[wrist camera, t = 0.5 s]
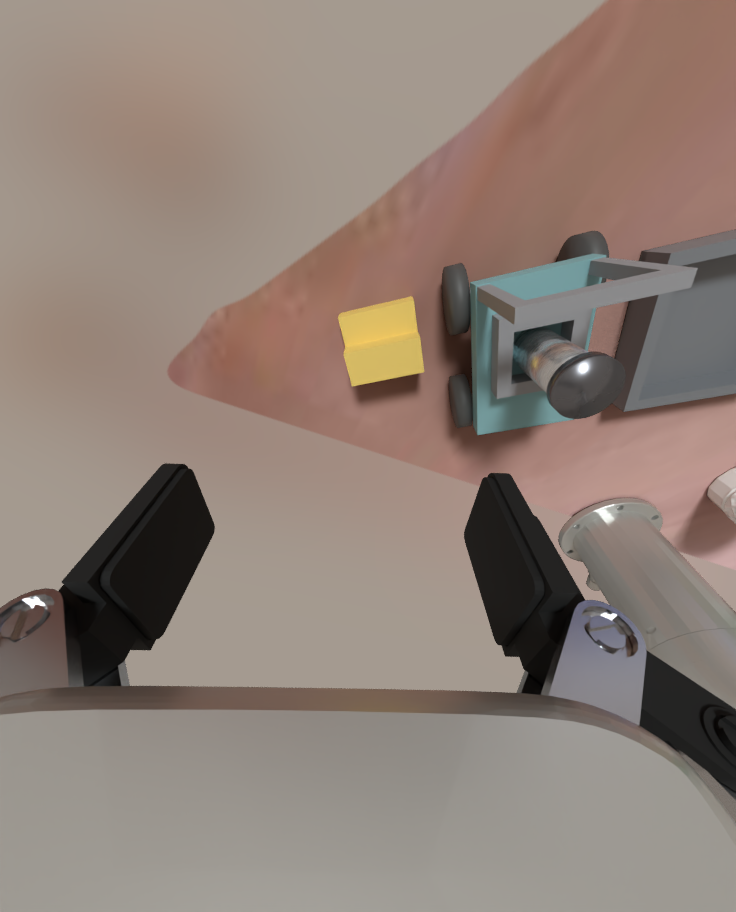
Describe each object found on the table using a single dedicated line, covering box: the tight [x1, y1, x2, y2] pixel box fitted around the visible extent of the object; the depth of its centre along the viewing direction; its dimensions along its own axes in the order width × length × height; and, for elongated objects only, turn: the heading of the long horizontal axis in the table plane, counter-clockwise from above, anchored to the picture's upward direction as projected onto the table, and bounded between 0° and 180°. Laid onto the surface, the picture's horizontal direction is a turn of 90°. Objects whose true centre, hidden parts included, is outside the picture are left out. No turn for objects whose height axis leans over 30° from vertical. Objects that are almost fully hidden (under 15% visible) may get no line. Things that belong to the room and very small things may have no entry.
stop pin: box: [513, 326, 626, 419], centre depth 20 cm, size 4×4×8 cm
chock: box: [338, 296, 424, 386], centre depth 27 cm, size 6×6×4 cm
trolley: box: [442, 231, 698, 435], centre depth 23 cm, size 14×10×14 cm
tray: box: [612, 230, 736, 412], centre depth 26 cm, size 13×13×3 cm
